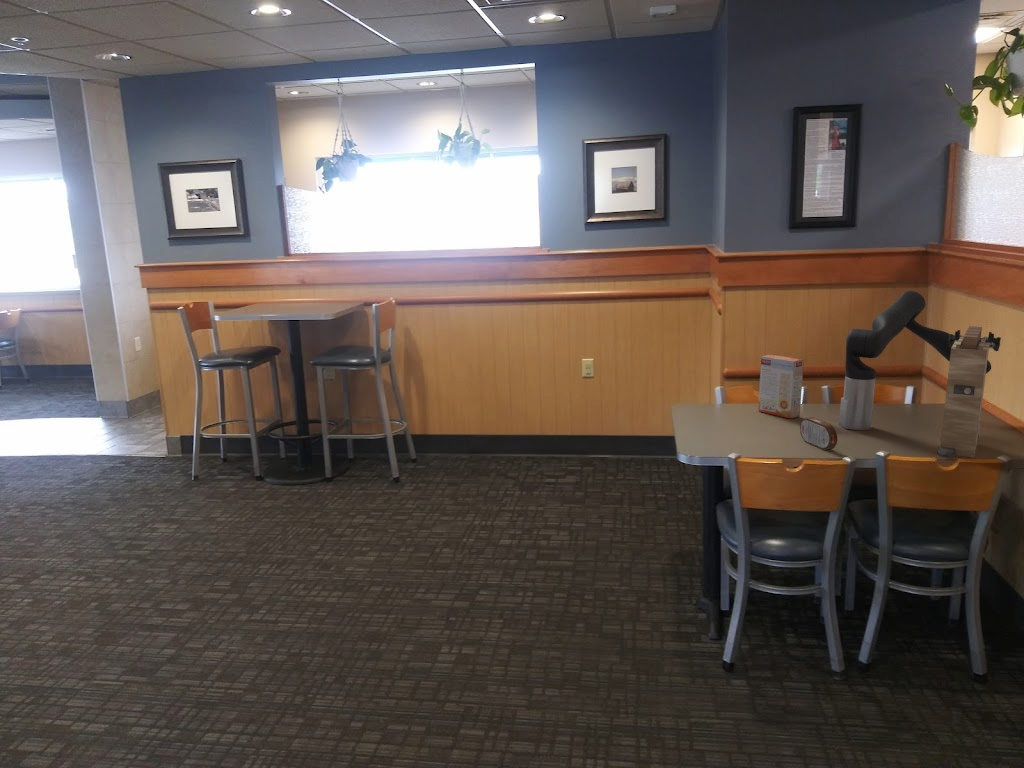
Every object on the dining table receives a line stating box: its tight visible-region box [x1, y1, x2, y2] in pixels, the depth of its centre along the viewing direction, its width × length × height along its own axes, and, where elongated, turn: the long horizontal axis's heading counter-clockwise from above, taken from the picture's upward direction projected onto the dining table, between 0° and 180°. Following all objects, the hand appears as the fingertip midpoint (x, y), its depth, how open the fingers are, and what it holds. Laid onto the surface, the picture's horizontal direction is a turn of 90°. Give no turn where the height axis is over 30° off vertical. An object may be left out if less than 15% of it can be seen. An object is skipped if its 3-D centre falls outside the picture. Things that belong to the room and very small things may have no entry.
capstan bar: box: [962, 325, 983, 349], centre depth 234 cm, size 24×4×4 cm, turn 147°
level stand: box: [937, 337, 990, 458], centre depth 231 cm, size 22×9×33 cm, turn 147°
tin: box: [799, 416, 838, 451], centre depth 241 cm, size 15×3×8 cm, turn 17°
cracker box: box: [757, 354, 805, 419], centre depth 277 cm, size 14×6×21 cm, turn 34°
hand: (974, 333), depth 242 cm, fingers open, 8 cm apart
